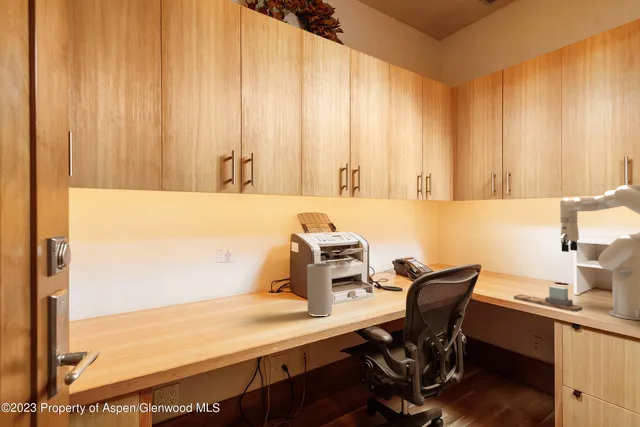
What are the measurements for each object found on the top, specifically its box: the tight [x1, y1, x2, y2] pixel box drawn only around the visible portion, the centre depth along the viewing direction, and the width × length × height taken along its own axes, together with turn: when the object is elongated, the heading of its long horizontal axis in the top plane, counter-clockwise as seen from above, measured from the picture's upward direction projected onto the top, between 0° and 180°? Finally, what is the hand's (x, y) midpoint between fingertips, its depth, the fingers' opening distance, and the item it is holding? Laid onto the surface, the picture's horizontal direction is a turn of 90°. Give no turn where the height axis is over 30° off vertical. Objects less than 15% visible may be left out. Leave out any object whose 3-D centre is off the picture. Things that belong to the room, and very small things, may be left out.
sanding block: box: [544, 285, 574, 306], centre depth 170 cm, size 10×6×8 cm, turn 29°
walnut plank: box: [513, 294, 583, 312], centre depth 176 cm, size 30×8×2 cm, turn 29°
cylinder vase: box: [306, 262, 333, 315], centre depth 164 cm, size 12×12×25 cm
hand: (569, 251), depth 179 cm, fingers open, 9 cm apart
